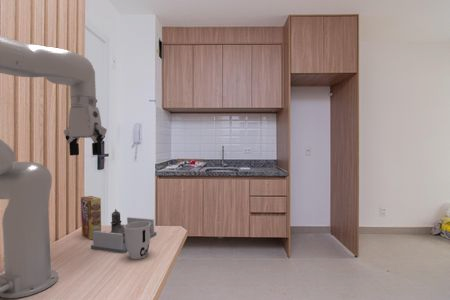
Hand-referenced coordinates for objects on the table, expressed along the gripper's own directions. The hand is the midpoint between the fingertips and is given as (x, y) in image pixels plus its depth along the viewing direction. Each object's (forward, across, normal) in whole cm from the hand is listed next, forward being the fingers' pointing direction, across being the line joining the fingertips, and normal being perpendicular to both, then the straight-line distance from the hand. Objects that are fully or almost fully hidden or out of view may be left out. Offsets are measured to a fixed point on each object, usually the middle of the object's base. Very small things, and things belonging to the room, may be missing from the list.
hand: (85, 155), depth 91 cm
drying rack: (+32, -6, -11) cm, 35 cm away
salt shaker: (+32, -6, -6) cm, 33 cm away
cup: (+32, -19, -1) cm, 38 cm away
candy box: (+32, +11, -12) cm, 36 cm away
